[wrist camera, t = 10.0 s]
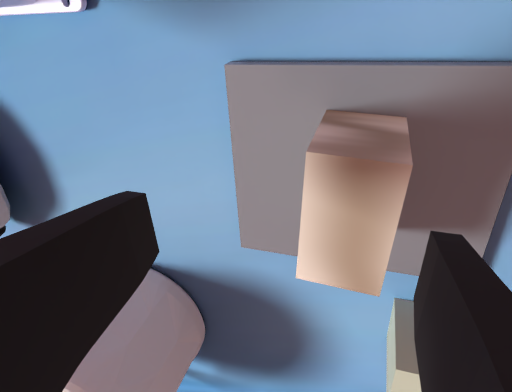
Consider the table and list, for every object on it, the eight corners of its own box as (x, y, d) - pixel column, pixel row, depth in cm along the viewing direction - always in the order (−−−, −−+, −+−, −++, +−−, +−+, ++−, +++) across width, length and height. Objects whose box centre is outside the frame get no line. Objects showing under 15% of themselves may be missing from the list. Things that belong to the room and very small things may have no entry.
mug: (85, 244, 29) (-35, 348, 21) (208, 280, 26) (127, 414, 18) (110, 346, 36) (29, 453, 28) (208, 382, 34) (150, 511, 25)
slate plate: (245, 239, 23) (241, 247, 22) (230, 61, 18) (224, 64, 17) (470, 274, 19) (473, 284, 19) (541, 61, 14) (548, 66, 13)
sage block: (489, 356, 22) (513, 442, 18) (387, 334, 24) (386, 408, 19) (507, 317, 20) (537, 403, 16) (394, 296, 22) (395, 369, 18)
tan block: (315, 216, 20) (296, 278, 16) (326, 109, 16) (306, 151, 12) (381, 228, 19) (379, 296, 15) (406, 117, 16) (412, 165, 11)
